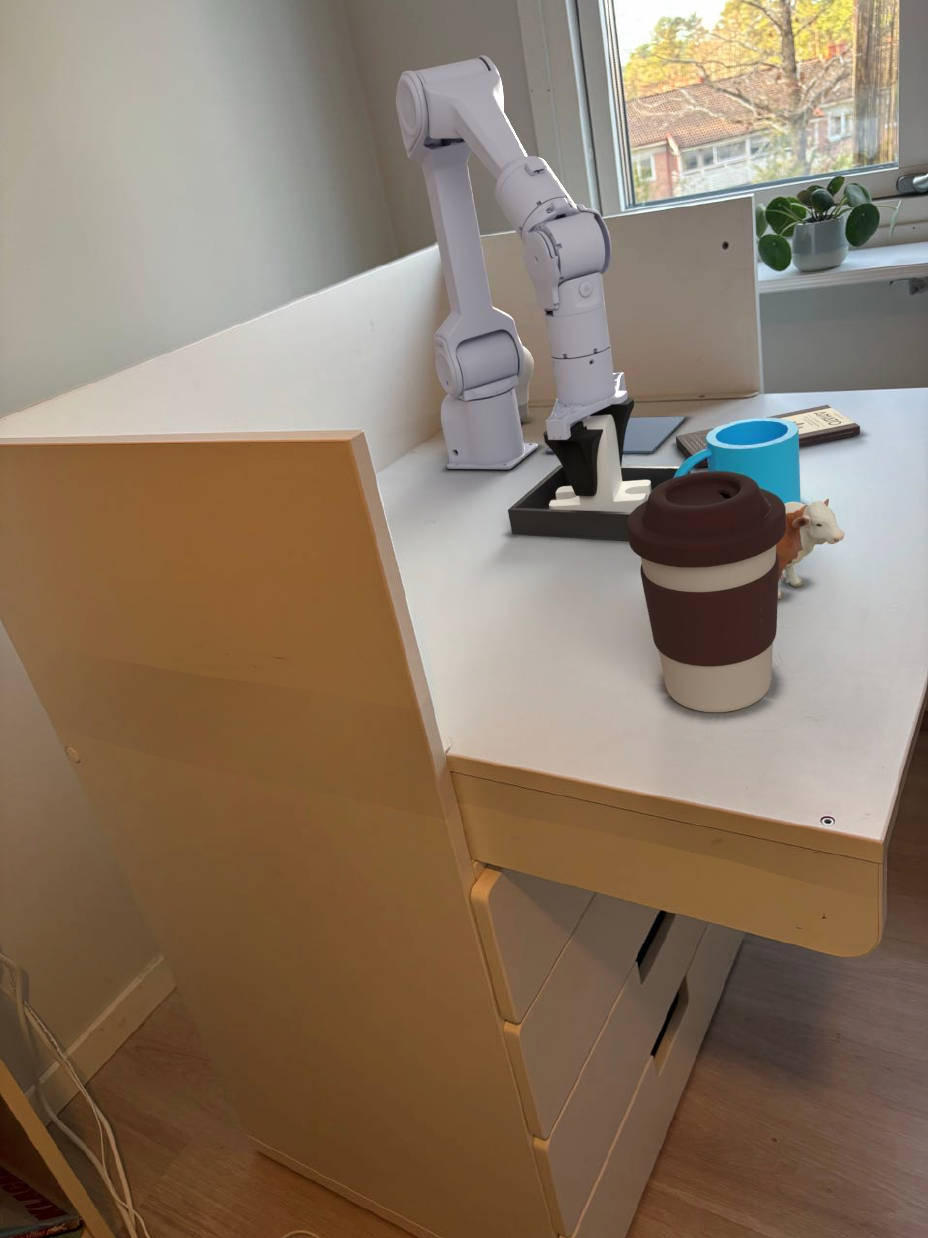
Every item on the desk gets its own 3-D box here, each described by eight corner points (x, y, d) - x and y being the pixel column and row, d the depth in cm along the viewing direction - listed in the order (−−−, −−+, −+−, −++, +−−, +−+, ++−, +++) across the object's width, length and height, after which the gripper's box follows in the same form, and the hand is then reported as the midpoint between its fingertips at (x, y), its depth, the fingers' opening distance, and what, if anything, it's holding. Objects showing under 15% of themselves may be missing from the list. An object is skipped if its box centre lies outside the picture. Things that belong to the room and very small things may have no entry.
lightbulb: (513, 432, 127) (499, 352, 122) (492, 424, 132) (477, 347, 127) (550, 418, 129) (538, 339, 124) (528, 411, 134) (515, 335, 129)
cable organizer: (645, 518, 93) (635, 421, 88) (550, 523, 96) (535, 431, 92) (653, 497, 97) (643, 404, 92) (561, 502, 101) (547, 413, 96)
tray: (512, 534, 97) (507, 509, 95) (562, 488, 105) (558, 465, 104) (650, 542, 88) (647, 515, 87) (692, 491, 97) (690, 466, 96)
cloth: (546, 453, 117) (546, 450, 117) (585, 420, 125) (585, 418, 125) (652, 453, 109) (651, 450, 109) (685, 418, 118) (685, 416, 118)
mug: (782, 490, 93) (779, 411, 89) (814, 520, 86) (812, 436, 82) (664, 515, 93) (655, 437, 89) (686, 547, 86) (678, 464, 82)
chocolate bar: (675, 435, 110) (827, 404, 109) (676, 443, 110) (827, 412, 109) (696, 459, 102) (860, 426, 101) (696, 467, 102) (859, 434, 101)
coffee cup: (631, 720, 64) (605, 523, 57) (664, 646, 72) (644, 463, 65) (781, 733, 60) (772, 521, 53) (800, 652, 67) (794, 457, 60)
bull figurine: (842, 609, 71) (841, 512, 68) (671, 600, 78) (661, 511, 74) (850, 582, 75) (849, 488, 71) (684, 576, 81) (676, 489, 77)
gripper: (587, 371, 82) (606, 512, 88) (647, 326, 92) (660, 456, 98) (517, 374, 85) (540, 510, 92) (582, 331, 96) (599, 456, 102)
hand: (598, 482), depth 95 cm, fingers closed on cable organizer, 6 cm apart
